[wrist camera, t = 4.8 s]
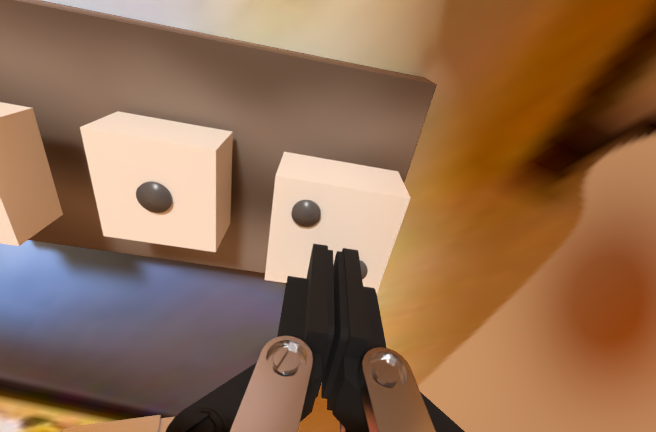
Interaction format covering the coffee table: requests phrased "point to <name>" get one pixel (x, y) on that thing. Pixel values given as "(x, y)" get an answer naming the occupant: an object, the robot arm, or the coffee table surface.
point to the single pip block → (160, 180)
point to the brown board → (197, 112)
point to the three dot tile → (24, 177)
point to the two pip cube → (333, 215)
